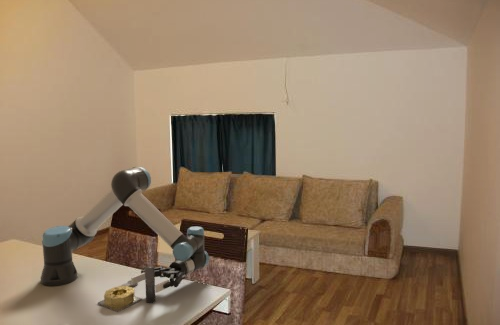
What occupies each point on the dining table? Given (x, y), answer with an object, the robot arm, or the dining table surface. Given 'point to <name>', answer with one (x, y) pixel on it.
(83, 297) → the dining table surface
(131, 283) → the grey bar with ball
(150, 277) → the steel pin
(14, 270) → the dining table surface
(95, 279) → the dining table surface
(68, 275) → the robot arm
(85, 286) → the dining table surface
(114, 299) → the ring nut
